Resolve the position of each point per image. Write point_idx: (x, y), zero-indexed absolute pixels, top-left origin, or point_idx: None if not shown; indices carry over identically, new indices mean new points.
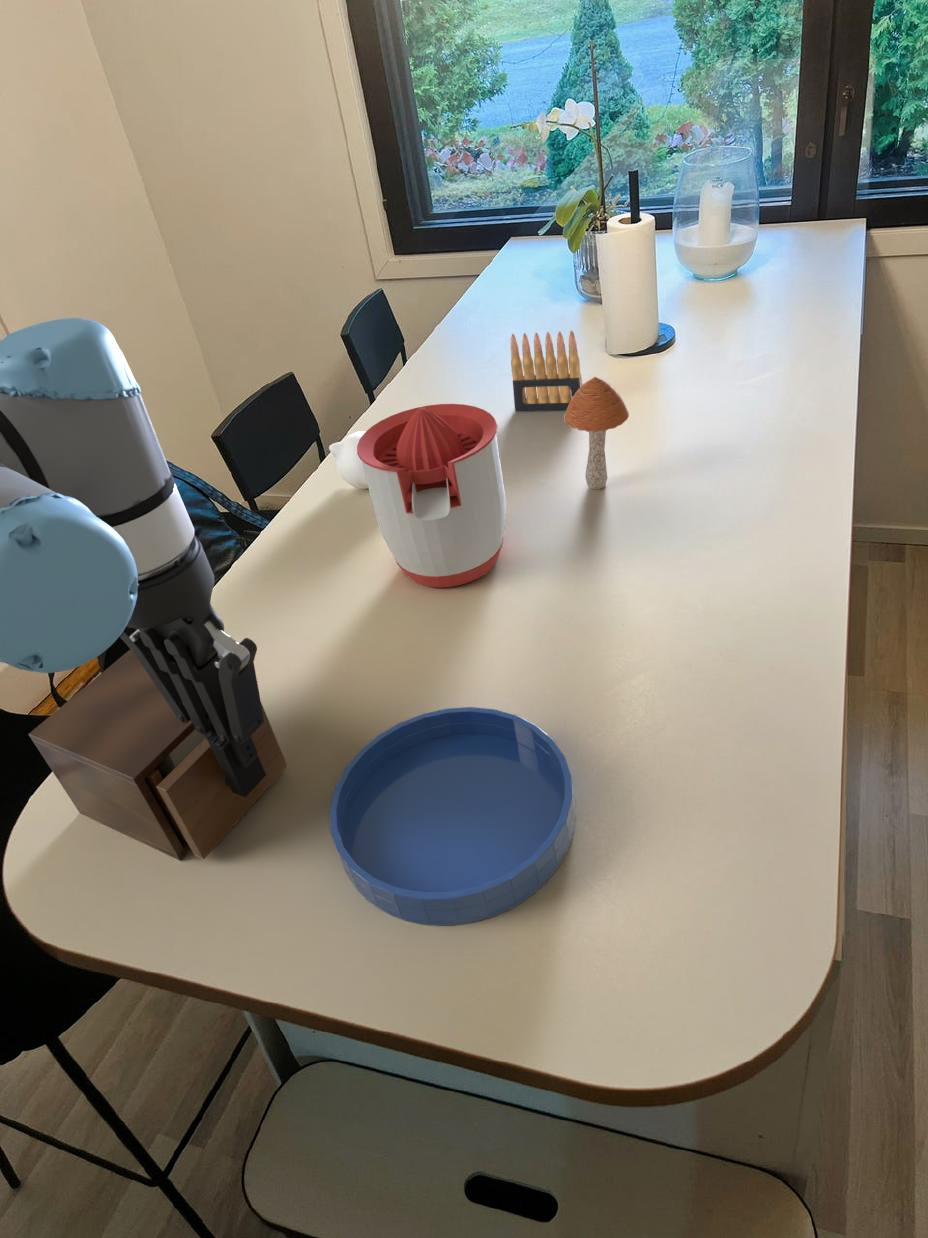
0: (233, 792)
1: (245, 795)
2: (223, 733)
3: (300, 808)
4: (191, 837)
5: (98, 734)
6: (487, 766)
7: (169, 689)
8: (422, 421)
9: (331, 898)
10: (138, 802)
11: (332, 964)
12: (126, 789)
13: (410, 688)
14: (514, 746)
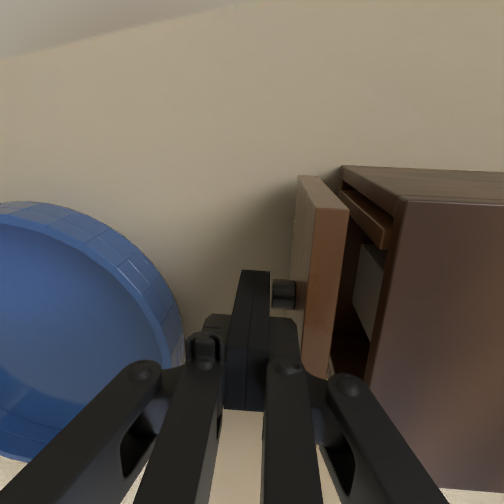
0: (268, 271)
1: (241, 272)
2: (193, 374)
3: (234, 290)
4: (302, 182)
5: None
6: (63, 396)
7: (380, 493)
8: None
9: (109, 194)
10: (408, 184)
11: (43, 116)
12: (442, 191)
13: (220, 461)
14: (56, 423)
